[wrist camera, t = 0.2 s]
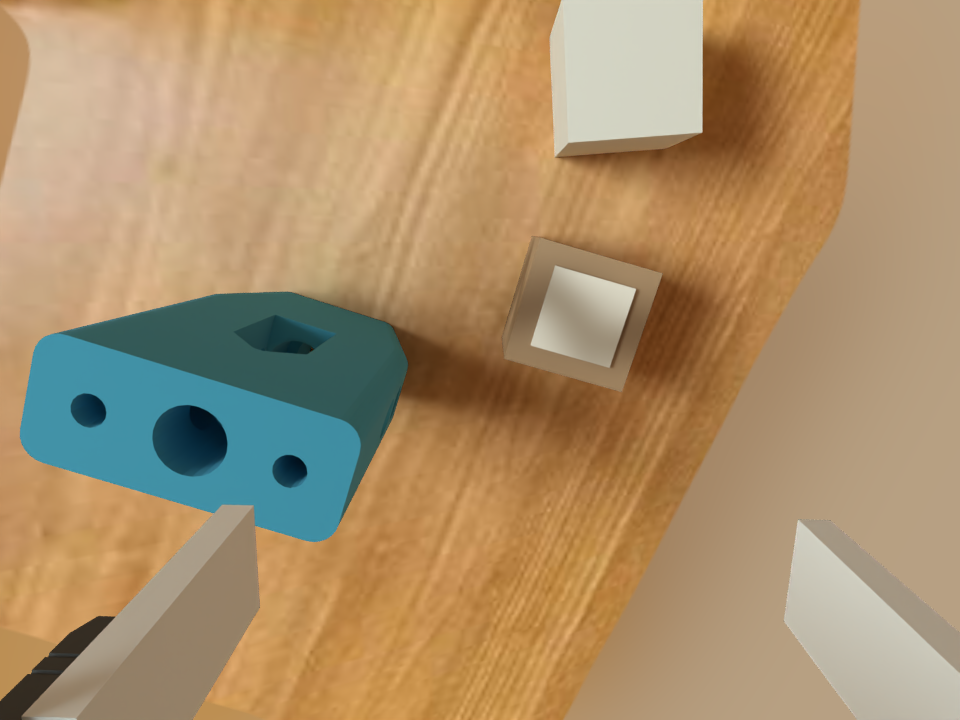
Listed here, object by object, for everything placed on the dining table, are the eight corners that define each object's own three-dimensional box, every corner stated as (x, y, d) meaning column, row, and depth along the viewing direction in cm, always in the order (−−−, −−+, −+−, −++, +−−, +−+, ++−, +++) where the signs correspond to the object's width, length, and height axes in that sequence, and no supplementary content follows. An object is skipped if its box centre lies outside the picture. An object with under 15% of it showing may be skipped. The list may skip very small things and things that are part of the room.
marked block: (531, 235, 41) (540, 237, 33) (633, 265, 41) (664, 273, 34) (501, 337, 42) (504, 360, 35) (600, 365, 42) (623, 393, 35)
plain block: (549, 38, 38) (562, -4, 31) (664, 29, 38) (702, -15, 31) (554, 157, 40) (568, 142, 33) (665, 148, 39) (702, 132, 33)
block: (423, 334, 42) (367, 427, 22) (403, 402, 43) (331, 548, 23) (251, 279, 41) (37, 326, 22) (234, 350, 42) (15, 454, 23)
